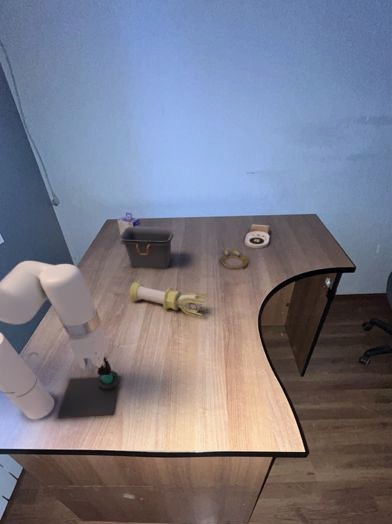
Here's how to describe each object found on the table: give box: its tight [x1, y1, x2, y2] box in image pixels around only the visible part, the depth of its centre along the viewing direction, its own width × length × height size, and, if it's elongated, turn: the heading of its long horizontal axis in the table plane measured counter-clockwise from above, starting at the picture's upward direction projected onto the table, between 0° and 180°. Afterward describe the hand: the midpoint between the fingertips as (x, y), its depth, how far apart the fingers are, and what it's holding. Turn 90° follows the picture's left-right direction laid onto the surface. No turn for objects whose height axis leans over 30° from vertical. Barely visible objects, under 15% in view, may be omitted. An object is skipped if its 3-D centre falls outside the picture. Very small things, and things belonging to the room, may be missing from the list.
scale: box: [57, 370, 121, 419], centre depth 72 cm, size 14×13×3 cm
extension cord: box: [221, 249, 248, 270], centre depth 121 cm, size 12×16×2 cm
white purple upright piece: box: [117, 212, 141, 235], centre depth 131 cm, size 10×6×14 cm, turn 60°
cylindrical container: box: [0, 332, 55, 420], centre depth 62 cm, size 7×7×25 cm
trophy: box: [129, 281, 209, 319], centre depth 96 cm, size 8×8×30 cm
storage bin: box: [119, 226, 174, 270], centre depth 116 cm, size 21×16×14 cm
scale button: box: [101, 374, 113, 384], centre depth 73 cm, size 3×3×2 cm
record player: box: [244, 224, 270, 249], centre depth 135 cm, size 12×3×20 cm
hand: (105, 372), depth 71 cm, fingers closed
